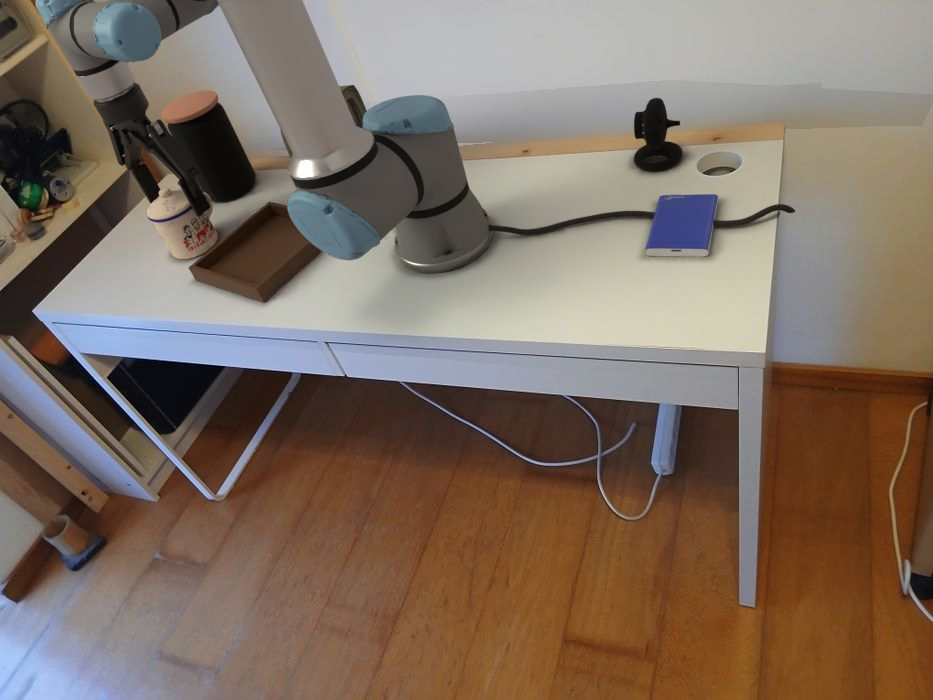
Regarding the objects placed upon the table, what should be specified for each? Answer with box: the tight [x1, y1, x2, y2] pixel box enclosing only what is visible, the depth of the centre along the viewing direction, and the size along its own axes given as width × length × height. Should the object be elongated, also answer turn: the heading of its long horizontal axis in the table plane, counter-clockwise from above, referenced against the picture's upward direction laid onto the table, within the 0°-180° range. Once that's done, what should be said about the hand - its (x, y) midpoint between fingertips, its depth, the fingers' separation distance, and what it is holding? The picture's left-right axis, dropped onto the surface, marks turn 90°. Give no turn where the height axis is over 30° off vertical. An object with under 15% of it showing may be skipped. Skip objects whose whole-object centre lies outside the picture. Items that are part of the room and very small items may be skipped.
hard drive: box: [645, 193, 719, 258], centre depth 106 cm, size 2×8×12 cm
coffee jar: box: [160, 89, 256, 203], centre depth 143 cm, size 11×11×18 cm
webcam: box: [633, 97, 683, 172], centre depth 117 cm, size 8×8×10 cm
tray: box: [188, 201, 323, 304], centre depth 127 cm, size 18×20×3 cm
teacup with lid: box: [146, 187, 219, 260], centre depth 134 cm, size 12×9×12 cm
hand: (179, 205), depth 133 cm, fingers open, 13 cm apart
